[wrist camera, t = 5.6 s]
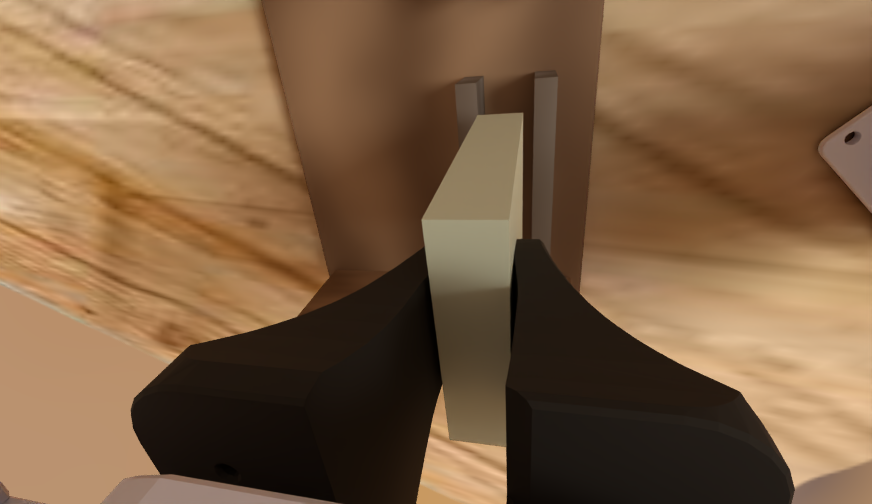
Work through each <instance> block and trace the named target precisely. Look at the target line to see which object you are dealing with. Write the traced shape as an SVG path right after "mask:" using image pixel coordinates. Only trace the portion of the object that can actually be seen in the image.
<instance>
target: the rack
mask: <svg viewBox="0 0 872 504" xmlns="http://www.w3.org/2000/svg"><path fill="white" fill-rule="evenodd" d="M262 4H263V8H264V12H265V16H266V20H267V24H268V28H269V32H270V37H271V41H272V45H273V49H274V53H275V57H276V61H277V65H278V69H279V73H280V77H281V81H282V85H283V89H284V93H285V97H286V101H287V105H288V110H289V114H290V118H291V122H292V126H293V130H294V134H295V138H296V142H297V146H298V150H299V154H300V158H301V162H302V166H303V170H304V174H305V179H306V183H307V187H308V191H309V195H310V199H311V203H312V207H313V211H314V215H315V219H316V223H317V227H318V231H319V235H320V239H321V243H322V247H323V252H324V256H325V260H326V264H327V268H328V272H329V276H330V277H329V279H328V280H327V281H326V282H325V284H324V285H323V286H322V287H321V288H320V290H319V291H318V292H317V293H316V295H315V296H314V297H313V298H312V299H311V301H310V302H309V303H308V304H307V306H306V307H305V308H304V309H303V310H302V312H301V313H300V314H299V315H298V316H301V315H303V314H306V313H308V312H311V311H313V310H316V309H318V308H321V307H323V306H326V305H328V304H331V303H333V302H335V301H337V300H339V299H341V298H343V297H345V296H347V295H349V294H351V293H353V292H355V291H357V290H359V289H361V288H363V287H365V286H366V285H368V284H370V283H372V282H373V281H375V280H376V279H378V278H379V277H381V276H382V275H384V274H386V273H387V272H389V271H390V270H392V269H393V268H395V267H397V266H398V265H399V264H401V263H402V262H404V261H405V260H406V259H408V258H409V257H411V256H412V255H413V254H415V253H416V252H417V251H419V250H420V249H422V248H423V247H424V246H425V243H424V236H423V228H422V218H423V216H424V214H425V212H426V210H427V208H428V207H429V205H430V203H431V201H432V199H433V197H434V195H435V194H436V192H437V190H438V188H439V186H440V184H441V182H442V181H443V179H444V177H445V175H446V173H447V171H448V169H449V167H450V166H451V164H452V162H453V160H454V158H455V156H456V154H457V153H458V151H459V149H460V147H461V145H462V143H463V141H464V140H465V138H466V136H467V134H468V132H469V130H470V128H471V127H472V125H473V123H474V121H475V119H476V117H477V115H490V114H508V113H523V210H522V239H540V240H541V241H542V242H543V243H544V245H545V247H546V249H547V251H548V253H549V255H550V256H551V258H552V259H553V261H554V262H555V264H556V265H557V267H558V268H559V269H560V271H561V272H562V273H563V275H564V276H565V277H566V279H567V280H568V281H569V282H570V283H571V285H572V286H573V287H574V288H575V289H576V290H577V291H578V292H579V291H580V280H581V268H582V256H583V245H584V233H585V221H586V209H587V198H588V186H589V174H590V162H591V151H592V139H593V127H594V115H595V104H596V92H597V80H598V69H599V57H600V45H601V33H602V22H603V10H604V0H262ZM298 316H297V317H298Z"/></svg>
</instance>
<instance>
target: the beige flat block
mask: <svg viewBox="0 0 872 504" xmlns="http://www.w3.org/2000/svg"><path fill="white" fill-rule="evenodd" d="M522 210H523V113H508V114H490V115H477V117H476V119H475V121H474V123H473V125H472V127H471V128H470V130H469V132H468V134H467V136H466V138H465V140H464V141H463V143H462V145H461V147H460V149H459V151H458V153H457V154H456V156H455V158H454V160H453V162H452V164H451V166H450V167H449V169H448V171H447V173H446V175H445V177H444V179H443V181H442V182H441V184H440V186H439V188H438V190H437V192H436V194H435V195H434V197H433V199H432V201H431V203H430V205H429V207H428V208H427V210H426V212H425V214H424V216H423V218H422V228H423V236H424V243H425V251H426V259H427V267H428V275H429V282H430V290H431V298H432V306H433V314H434V322H435V329H436V337H437V345H438V353H439V361H440V368H441V376H442V384H443V392H444V400H445V408H446V415H447V423H448V431H449V439H450V440H455V441H463V442H471V443H479V444H487V445H495V446H503V447H506V397H505V385H506V380H507V375H508V369H509V363H510V357H511V351H512V344H513V337H514V251H515V245H516V240H517V239H522Z"/></svg>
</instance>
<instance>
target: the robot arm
mask: <svg viewBox="0 0 872 504" xmlns="http://www.w3.org/2000/svg"><path fill="white" fill-rule="evenodd" d="M851 132H855V135H854V137H853V138H852V139H851V140H850V141H848V142H845V141H844V140H845V137H846V136H847V135H848V134H849V133H851ZM818 152H819V154H820V155H821V156H822V158H823V159H824V160H825V161H826V162H827V163H828V164H829V165H830V167H831V168H832V169H833V170H834V171H835V172H836V173H837V175H838V176H839V177H840V178H841V179H842V180H843V181H844V183H845V184H846V185H847V186H848V187H849V188H850V189H851V190H852V192H853V193H854V194H855V195H856V196H857V197H858V198H859V200H860V201H861V202H862V203H863V204H864V205H865V206H866V207H867V209H868V210H869V211H870V212H871V213H872V106H870V107H869V108H867V109H866V110H864V111H863V112H862V113H860V114H859V115H857V116H856V117H854V118H853V119H851V120H850V121H848V122H847V123H845V124H844V125H843V126H841V127H840V128H838V129H837V130H835V131H834V132H832V133H831V134H829V135H828V136H827V137H825V138H824V139H823V140H822V141H821V142H820V144H819V146H818ZM441 387H442V376H441V368H440V361H439V353H438V345H437V337H436V329H435V322H434V314H433V306H432V298H431V290H430V282H429V275H428V267H427V259H426V251H425V246H424V247H423V248H422V249H420V250H419V251H417V252H416V253H415V254H413V255H412V256H411V257H409V258H408V259H406V260H405V261H404V262H402V263H401V264H399V265H398V266H397V267H395V268H393V269H392V270H390V271H389V272H387V273H386V274H384V275H382V276H381V277H379V278H378V279H376V280H375V281H373V282H372V283H370V284H368V285H366V286H365V287H363V288H361V289H359V290H357V291H355V292H353V293H351V294H349V295H347V296H345V297H343V298H341V299H339V300H337V301H335V302H333V303H331V304H328V305H326V306H323V307H321V308H318V309H316V310H313V311H311V312H308V313H306V314H303V315H301V316H298V317H295V318H293V319H290V320H287V321H284V322H281V323H278V324H274V325H271V326H268V327H264V328H261V329H258V330H254V331H250V332H247V333H243V334H238V335H234V336H230V337H225V338H221V339H217V340H212V341H208V342H204V343H199V344H194V345H190V346H189V347H188V348H187V349H185V350H184V351H183V352H182V353H181V354H180V355H179V356H178V357H177V358H176V359H175V360H174V361H173V362H172V363H171V364H170V365H169V366H168V367H166V369H164V370H163V371H162V372H161V373H160V374H159V375H158V376H157V377H156V378H155V379H154V380H153V381H152V382H151V383H150V384H149V385H147V386H146V387H145V388H144V389H143V390H142V391H141V392H140V393H139V394H138V395H137V396H136V397H135V398H134V401H133V404H132V408H131V418H132V424H133V429H134V431H135V433H136V435H137V437H138V439H139V441H140V443H141V445H142V446H143V448H144V449H145V451H146V452H147V454H148V456H149V457H150V459H151V460H152V462H153V464H154V465H155V467H156V468H157V470H158V471H159V473H160V475H143V476H135V477H130V478H125V479H123V480H122V481H121V482H120V483H119V484H118V485H117V486H116V488H115V489H114V490H113V491H112V492H111V493H110V494H109V495H108V496H107V498H106V499H105V500H104V501H103V502H102V503H101V504H416V501H417V495H418V488H419V484H420V479H421V474H422V468H423V463H424V458H425V452H426V447H427V442H428V438H429V433H430V428H431V423H432V418H433V414H434V410H435V406H436V403H437V399H438V396H439V393H440V390H441ZM505 397H506V457H507V504H791V503H792V499H793V495H794V491H795V489H794V485H793V481H792V477H791V473H790V469H789V468H788V466H787V464H786V462H785V461H784V459H783V457H782V455H781V453H780V452H779V450H778V448H777V446H776V445H775V443H774V441H773V439H772V438H771V436H770V435H769V433H768V431H767V430H766V428H765V427H764V425H763V424H762V422H761V421H760V419H759V418H758V416H757V415H756V414H755V412H754V411H753V410H752V408H751V407H750V406H749V404H748V403H747V401H746V400H745V398H744V397H743V395H742V394H741V393H740V392H739V391H737V390H735V389H733V388H731V387H729V386H726V385H724V384H722V383H720V382H718V381H715V380H713V379H711V378H709V377H707V376H704V375H702V374H700V373H698V372H696V371H694V370H691V369H689V368H687V367H685V366H683V365H681V364H679V363H677V362H675V361H673V360H672V359H670V358H668V357H666V356H664V355H663V354H661V353H659V352H657V351H655V350H654V349H652V348H650V347H648V346H647V345H645V344H644V343H642V342H640V341H639V340H637V339H635V338H634V337H632V336H631V335H630V334H628V333H627V332H625V331H624V330H622V329H621V328H619V327H618V326H617V325H615V324H614V323H612V322H611V321H610V320H608V319H607V318H606V317H605V316H603V315H602V314H601V313H600V312H599V311H597V310H596V309H595V308H594V307H593V306H592V305H590V304H589V303H588V302H587V301H586V300H585V299H584V298H583V297H582V296H581V294H580V293H579V292H578V291H577V290H576V289H575V288H574V287H573V286H572V285H571V283H570V282H569V281H568V280H567V279H566V277H565V276H564V275H563V273H562V272H561V271H560V269H559V268H558V267H557V265H556V264H555V262H554V261H553V259H552V258H551V256H550V255H549V253H548V251H547V249H546V247H545V245H544V243H543V242H542V241H541V240H540V239H517V240H516V245H515V251H514V337H513V344H512V351H511V357H510V363H509V369H508V375H507V380H506V385H505ZM0 504H45V503H40V502H35V501H31V500H26V499H21V498H16V497H12V496H9V491H8V490H7V489H6V487H5V486H4V485H3V484H2V483H1V482H0Z"/></svg>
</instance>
